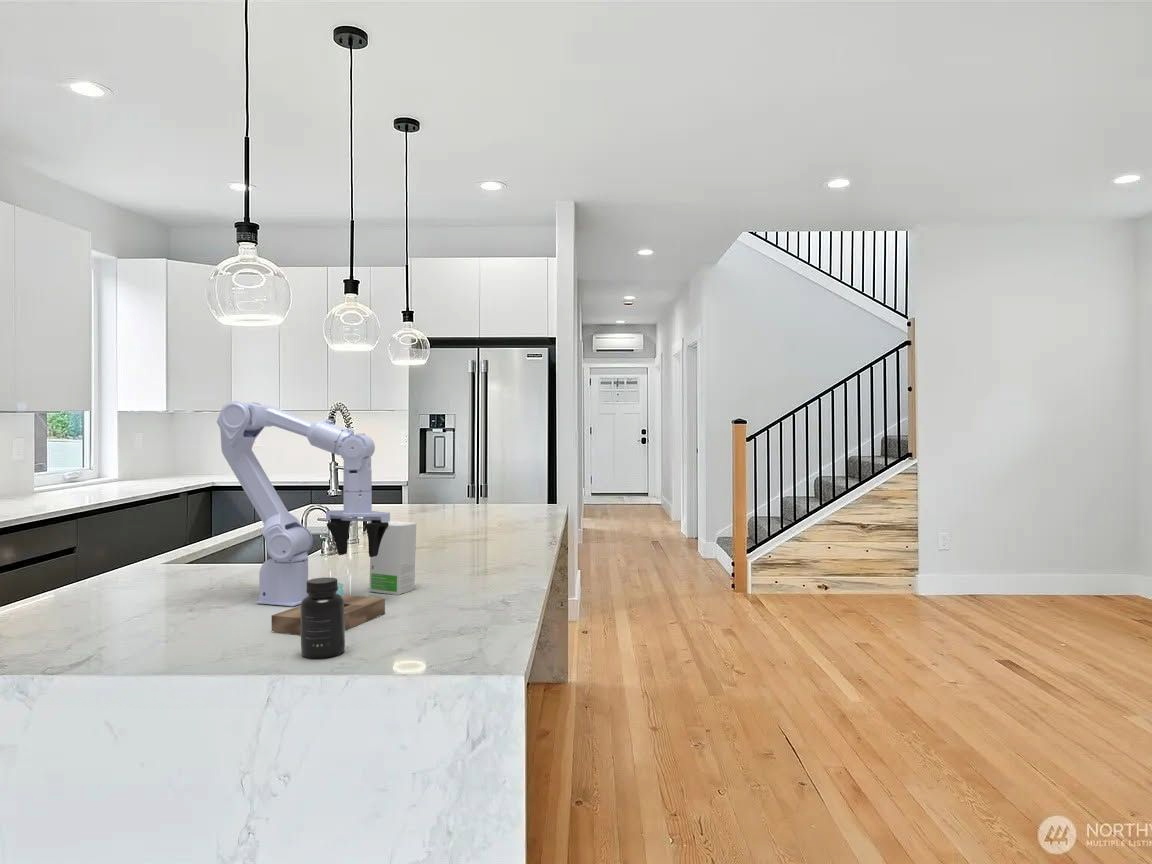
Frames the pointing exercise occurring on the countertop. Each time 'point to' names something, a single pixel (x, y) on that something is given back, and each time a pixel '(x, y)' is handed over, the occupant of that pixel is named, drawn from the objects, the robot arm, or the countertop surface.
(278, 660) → the countertop surface
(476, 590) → the countertop surface
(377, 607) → the socket board
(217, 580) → the countertop surface
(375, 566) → the skincare box
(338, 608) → the supplement bottle
